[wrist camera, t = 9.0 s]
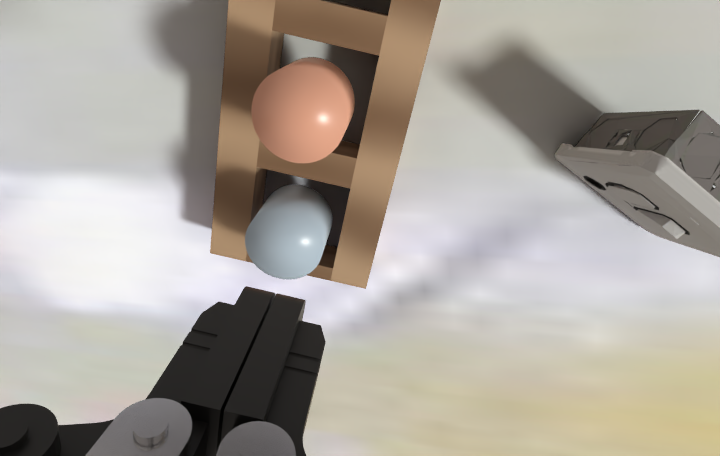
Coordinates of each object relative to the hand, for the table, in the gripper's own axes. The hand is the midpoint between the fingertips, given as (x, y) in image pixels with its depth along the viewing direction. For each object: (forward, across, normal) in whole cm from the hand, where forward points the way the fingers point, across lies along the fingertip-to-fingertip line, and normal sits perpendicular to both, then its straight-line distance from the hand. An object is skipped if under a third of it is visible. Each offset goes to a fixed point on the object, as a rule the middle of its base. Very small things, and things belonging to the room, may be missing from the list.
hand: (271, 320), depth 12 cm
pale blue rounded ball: (+18, +2, +7) cm, 19 cm away
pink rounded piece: (+17, +2, -1) cm, 17 cm away
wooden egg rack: (+21, +2, -1) cm, 21 cm away
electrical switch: (+21, -18, -1) cm, 28 cm away
